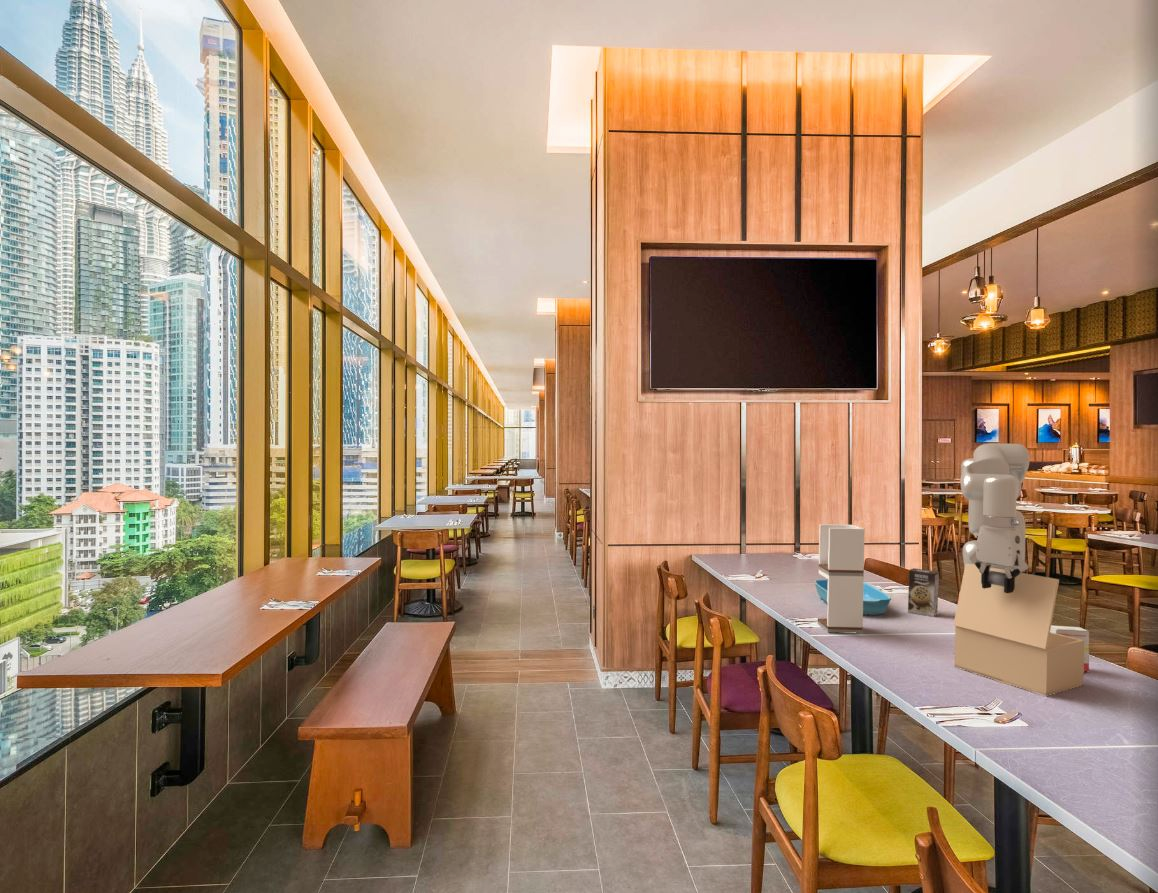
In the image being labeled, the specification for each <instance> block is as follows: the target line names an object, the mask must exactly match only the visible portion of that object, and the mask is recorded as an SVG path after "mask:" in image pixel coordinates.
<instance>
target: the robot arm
mask: <svg viewBox="0 0 1158 893" xmlns="http://www.w3.org/2000/svg"><path fill="white" fill-rule="evenodd" d="M1029 453H1030V452H1029V451H1028V449H1027V448H1026V446H1024V445H1023V444H1020V443H995V442H994V443H992V442H991V443H989V442H988V443H983V444H981V445H979V446H977V447H976V448H975V450H974V451H973V454H972V456H973V457H972V458H965V459H964V460H963V461H962V462H961V465H960V482H959V483H960V491H961V494H962V496H963V497H964V498H965V499H967V500H968V519H967V521H968V522H967V523H968V524H967V525H968V530H969V533H971V534H972V535H973V536H976V537H977V540H976V539H974V540H970V541H967V542H965V544H964V545H963V546H962V559H963V564H964V565H963V567H964V569H965V564H966V563H968V564H974V565H976V567H977V568H978V569H979V572H980V573H981V584H982V588H984V589H985V588H990V587H991V584H989V583H988V581H987V576H988V573H989V571H990V568H997V569H1002V570H1005V572H1006V576H1007V578H1004V592H1005V593H1011V592H1013V590H1014V588H1015V578H1016V577H1017V576H1018V575H1019V574H1020V573H1024V572H1025V571H1027V570H1028V569H1029V565H1028V564H1027V563H1026V560H1025V559H1026V520H1025V516H1024V515H1023V513H1022V512H1020V511H1019V510H1017V500H1018V498H1019V497H1020V496H1021V495H1022V483H1023V482H1024V481H1025V477H1026V474H1027V472H1028V470H1029V466H1030V458H1031V457H1030V454H1029Z"/></svg>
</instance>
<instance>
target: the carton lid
mask: <svg viewBox="0 0 1158 893" xmlns="http://www.w3.org/2000/svg"><path fill="white" fill-rule="evenodd" d="M962 575H963V576H962V580H961V585H960V589H959V595H958V601H957V606H956V610H955V615H954V621H953V626H959V627H963V628H967V629H971V630H974V631H978V632H982V633H986V634H990V635H993V636H997V637H1001V638H1005V639H1009V640H1012V641H1016V642H1020V643H1024V644H1028V645H1032V646H1035V647H1039V648H1043V649H1047V646H1048V640H1049V635H1050V629H1051V626H1052V624H1053V623H1052V622H1053V619H1054V618H1053V617H1054V613H1055V606H1056V600H1057V594H1058V588H1059V584H1060V579H1058V578H1053V577H1048V576H1042V575H1035V574H1031V573H1024V572H1022V573H1020V574H1019V575H1018V576H1017V577H1016V578H1015V588H1014V590H1013V592H1011V593H1005V592H1004V578H1007V576H1006V572H1005V570H1002V569H997V568H990V571H989V573H988V576H987V581H988V583H989V584H991V587H990V588H985V589H984V588H982V584H981V573H980V572H979V569H978V568H977V567H976V565H974V564H968V563H966V564H965V568H964V571H963V574H962Z"/></svg>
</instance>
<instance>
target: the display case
mask: <svg viewBox="0 0 1158 893" xmlns="http://www.w3.org/2000/svg"><path fill="white" fill-rule="evenodd" d="M818 527H819V536H818V538H819V540H818V574H819V575H820V576H822V577H824V579H828V592H827V602H826V603H827V614H826V615H827V616H826V617H825V618H824V617H823V618H822V617H817V625H818V624H819V625H820V626H819V625H818V626H819V627H821V628H822V629H823V628H824V629H823V630H824V631H825V630H826V631H827V632H826V631H825V632H826V633H828V632H856V633H855V634H857V633H862V634H863V629H864V628H863V621H864V614H863V582H865V576H864V575H865V574H864V573H865V570H864V569H865V567H864V566H865V534H866V533H865V530H866V529H865V528H863V527H859V526H857V525H854V524H832V523H831V524H827V523H826V524H823V523H822V524H821V523H820V524H819V526H818Z"/></svg>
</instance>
